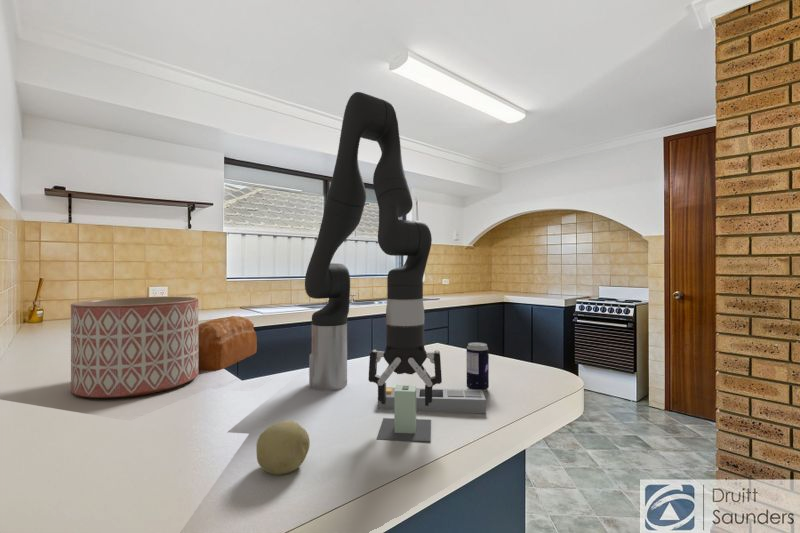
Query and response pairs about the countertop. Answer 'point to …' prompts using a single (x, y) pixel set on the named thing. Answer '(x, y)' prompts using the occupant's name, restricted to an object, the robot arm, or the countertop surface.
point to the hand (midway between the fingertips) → (405, 403)
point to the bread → (225, 342)
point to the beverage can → (477, 366)
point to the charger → (405, 408)
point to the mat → (419, 436)
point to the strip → (444, 400)
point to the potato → (282, 447)
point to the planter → (133, 345)
